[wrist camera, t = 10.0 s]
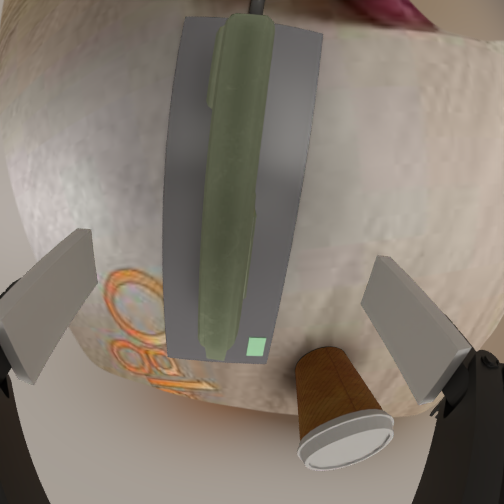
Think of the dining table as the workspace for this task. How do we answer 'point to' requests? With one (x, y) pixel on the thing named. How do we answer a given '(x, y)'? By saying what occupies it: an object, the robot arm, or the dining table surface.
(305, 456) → the disposable coffee cup
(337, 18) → the dining table surface
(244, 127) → the handheld radio
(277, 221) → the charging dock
